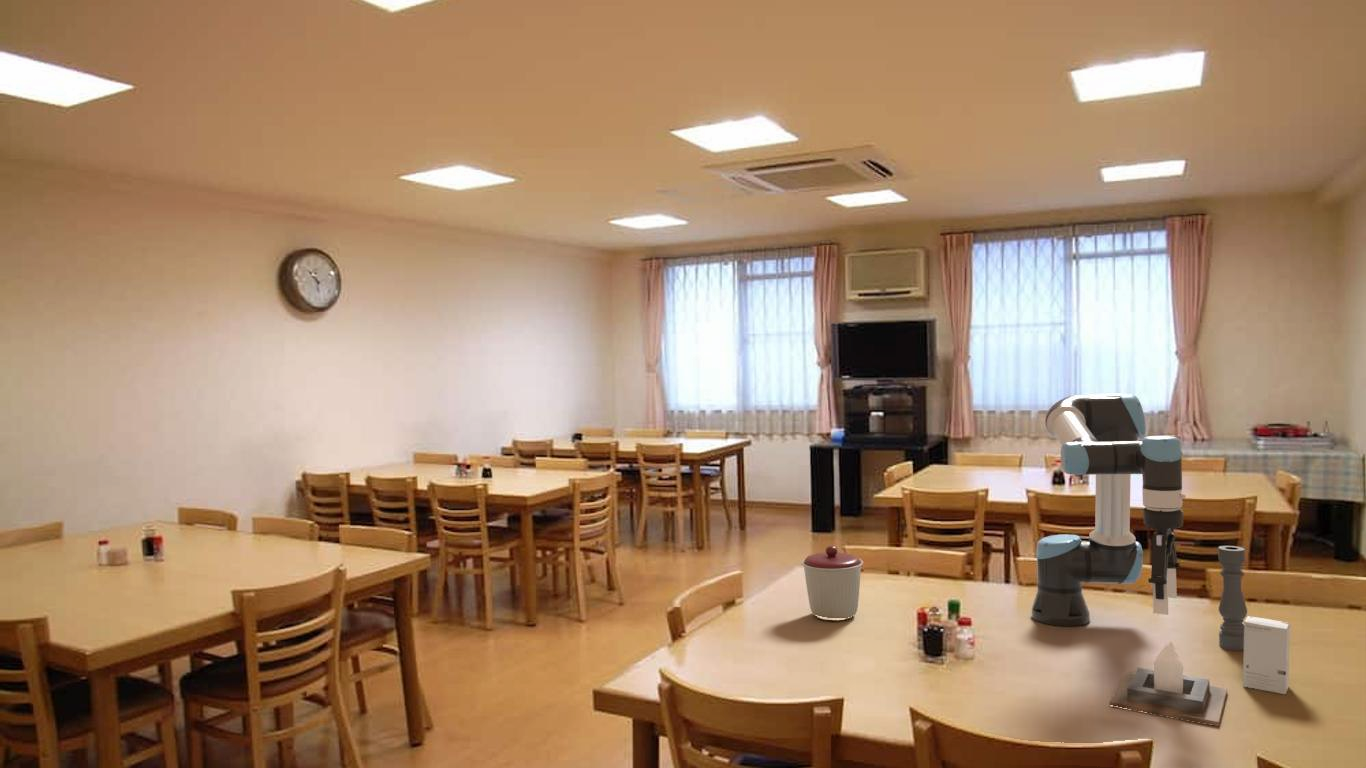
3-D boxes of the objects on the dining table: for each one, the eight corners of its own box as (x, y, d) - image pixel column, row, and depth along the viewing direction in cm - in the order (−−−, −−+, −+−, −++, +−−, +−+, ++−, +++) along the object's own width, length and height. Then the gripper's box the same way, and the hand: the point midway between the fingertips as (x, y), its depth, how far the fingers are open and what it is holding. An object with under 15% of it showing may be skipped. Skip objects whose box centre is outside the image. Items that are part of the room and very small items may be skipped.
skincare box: (1242, 687, 194) (1241, 621, 193) (1246, 679, 198) (1245, 614, 198) (1288, 695, 188) (1287, 627, 188) (1291, 686, 193) (1290, 620, 192)
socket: (1109, 706, 187) (1109, 690, 186) (1126, 676, 203) (1125, 661, 203) (1218, 726, 175) (1218, 709, 175) (1226, 693, 191) (1226, 677, 191)
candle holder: (1246, 643, 220) (1243, 546, 220) (1250, 651, 215) (1248, 551, 214) (1217, 641, 223) (1215, 545, 222) (1221, 649, 217) (1218, 550, 217)
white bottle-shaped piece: (1153, 634, 193) (1182, 637, 190) (1155, 687, 193) (1184, 692, 190) (1151, 642, 187) (1181, 646, 185) (1153, 697, 188) (1183, 701, 185)
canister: (874, 611, 261) (871, 542, 260) (851, 629, 246) (848, 555, 245) (818, 604, 271) (815, 537, 270) (793, 621, 255) (790, 550, 255)
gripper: (1175, 519, 175) (1177, 623, 176) (1189, 499, 195) (1191, 592, 196) (1133, 516, 180) (1136, 618, 180) (1152, 497, 200) (1154, 588, 201)
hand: (1165, 605), depth 188 cm, fingers open, 13 cm apart
